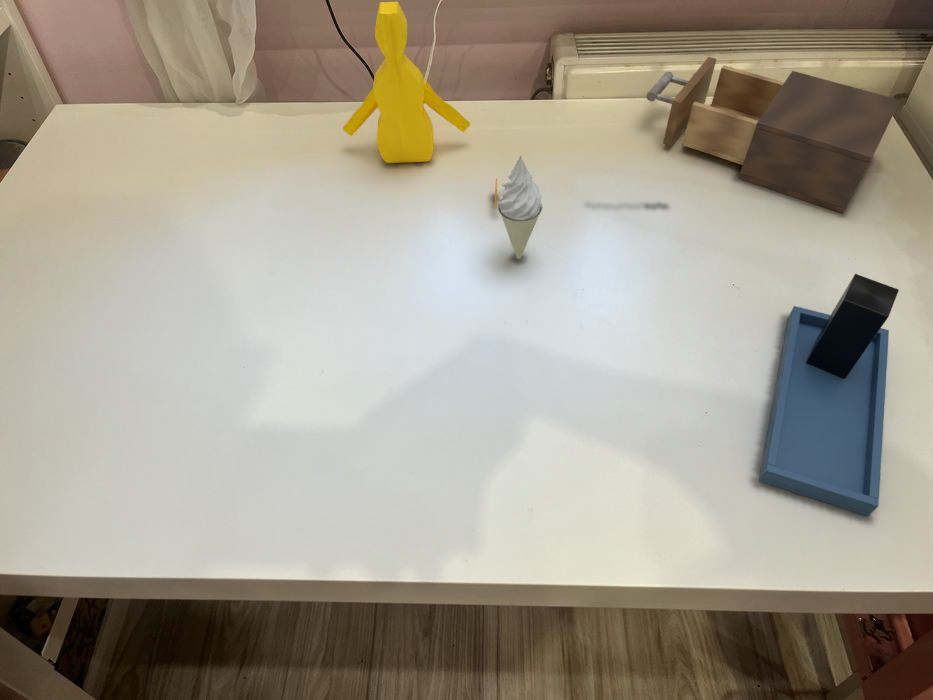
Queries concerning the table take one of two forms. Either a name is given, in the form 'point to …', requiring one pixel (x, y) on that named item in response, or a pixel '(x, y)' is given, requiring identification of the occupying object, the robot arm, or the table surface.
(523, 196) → the ice cream cone
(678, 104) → the drawer
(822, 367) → the block
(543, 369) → the table surface
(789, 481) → the tray
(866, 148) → the small wooden cabinet
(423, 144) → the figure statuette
